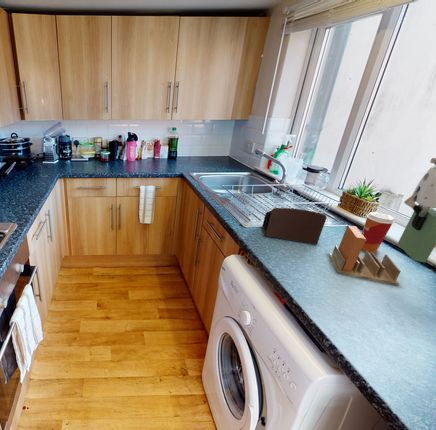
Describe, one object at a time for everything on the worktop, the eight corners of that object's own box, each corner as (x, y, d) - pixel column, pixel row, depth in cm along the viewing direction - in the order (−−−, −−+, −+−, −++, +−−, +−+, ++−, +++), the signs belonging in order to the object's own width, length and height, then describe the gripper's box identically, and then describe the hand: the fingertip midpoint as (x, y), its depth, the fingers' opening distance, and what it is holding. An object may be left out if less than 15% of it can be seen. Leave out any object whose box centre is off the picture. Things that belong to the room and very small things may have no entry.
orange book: (343, 257, 108) (356, 226, 102) (351, 271, 99) (366, 239, 94) (335, 255, 109) (347, 225, 103) (342, 269, 100) (356, 237, 95)
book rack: (381, 265, 105) (387, 253, 103) (397, 285, 94) (404, 273, 92) (328, 254, 111) (333, 243, 109) (337, 273, 100) (342, 261, 98)
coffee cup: (356, 242, 121) (370, 209, 114) (381, 250, 115) (398, 216, 109) (351, 248, 116) (365, 214, 109) (376, 257, 110) (393, 222, 104)
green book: (408, 245, 87) (428, 206, 81) (425, 262, 78) (450, 219, 73) (397, 243, 87) (417, 204, 82) (413, 260, 79) (436, 218, 74)
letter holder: (317, 244, 118) (328, 213, 112) (264, 236, 123) (272, 206, 118) (310, 234, 126) (321, 204, 120) (261, 226, 132) (269, 198, 126)
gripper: (424, 164, 72) (392, 229, 79) (514, 172, 66) (471, 241, 74) (409, 158, 78) (381, 218, 86) (491, 165, 72) (453, 229, 80)
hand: (423, 228), depth 80 cm, fingers closed on green book, 2 cm apart
